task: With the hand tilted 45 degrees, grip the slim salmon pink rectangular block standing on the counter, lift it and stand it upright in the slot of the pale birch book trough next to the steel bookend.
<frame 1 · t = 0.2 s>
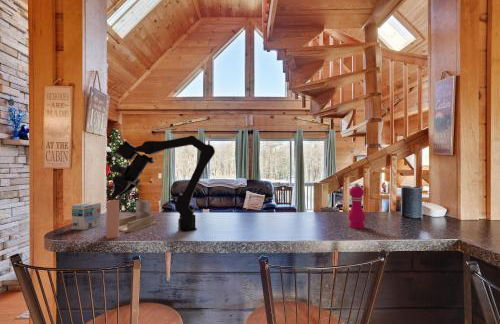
hand: (116, 197, 121), 15 cm above the countertop, tool tilted 35°, fingers open, 9 cm apart
light bulb box: (86, 227, 129), on the countertop
salmon pink rectangular block: (113, 235, 114), on the countertop
book trough: (133, 226, 130), on the countertop
pepper mill: (356, 227, 128), on the countertop
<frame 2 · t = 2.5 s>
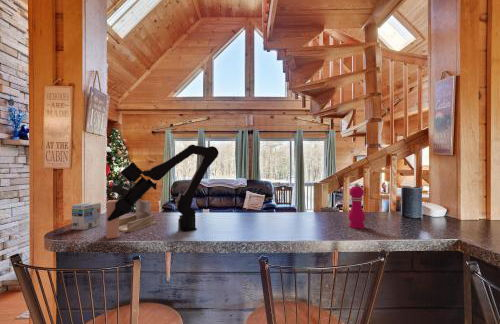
hand: (109, 218, 113), 7 cm above the countertop, tool tilted 45°, fingers closed on salmon pink rectangular block, 6 cm apart
salmon pink rectangular block: (113, 235, 114), on the countertop, touching gripper
everything else where it was.
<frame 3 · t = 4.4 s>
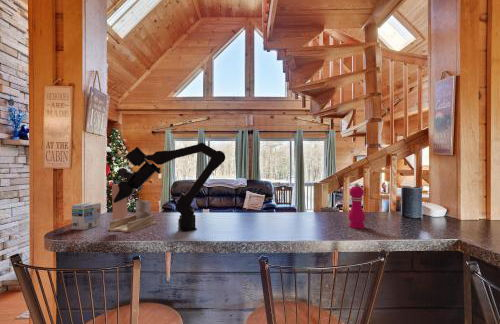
hand: (116, 200, 119), 13 cm above the countertop, tool tilted 45°, fingers closed on salmon pink rectangular block, 6 cm apart
salmon pink rectangular block: (120, 217, 119), point 6 cm above the countertop, touching gripper
everything else where it was.
when the fingers open (9 cm above the countertop, at t = 6.6 s): salmon pink rectangular block drops 1 cm, resting on book trough.
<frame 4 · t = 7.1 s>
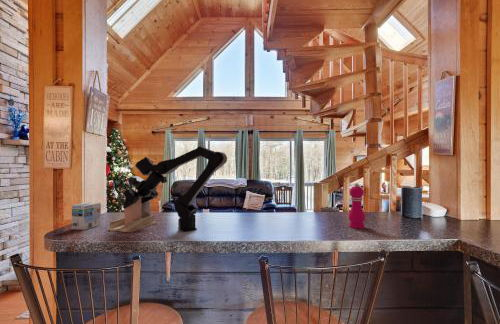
hand: (130, 206, 130), 9 cm above the countertop, tool tilted 45°, fingers open, 9 cm apart
salmon pink rectangular block: (133, 224, 130), point 1 cm above the countertop, touching book trough
everything else where it was.
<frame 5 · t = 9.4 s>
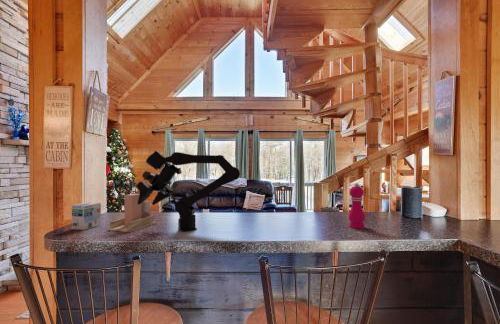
hand: (145, 204, 126), 11 cm above the countertop, tool tilted 35°, fingers open, 9 cm apart
nothing on the countertop moved.
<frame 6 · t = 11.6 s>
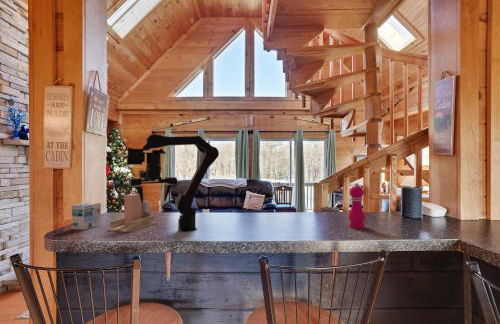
hand: (153, 201, 118), 13 cm above the countertop, tool pointing down, fingers open, 9 cm apart
nothing on the countertop moved.
at the end: salmon pink rectangular block inside the target area on the book trough (0.0 cm from its centre), point 0.8 cm above the book trough's base; salmon pink rectangular block tilted 0°; the gripper is holding nothing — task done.
